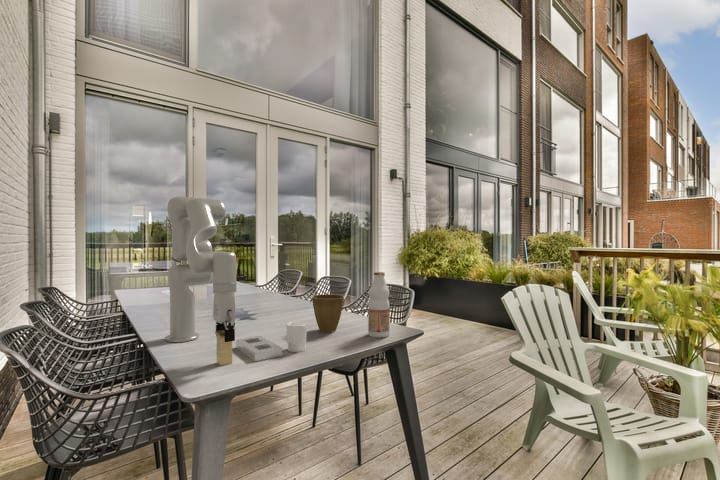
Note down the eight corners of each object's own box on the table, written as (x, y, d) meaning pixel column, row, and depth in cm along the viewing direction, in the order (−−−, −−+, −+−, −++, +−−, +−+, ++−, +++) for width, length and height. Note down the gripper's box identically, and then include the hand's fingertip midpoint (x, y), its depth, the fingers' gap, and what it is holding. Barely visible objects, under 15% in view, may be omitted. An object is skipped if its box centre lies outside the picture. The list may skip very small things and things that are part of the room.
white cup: (289, 353, 134) (289, 326, 134) (283, 348, 141) (283, 322, 141) (309, 350, 137) (309, 324, 137) (303, 345, 144) (303, 320, 144)
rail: (236, 347, 141) (236, 339, 141) (260, 343, 147) (260, 335, 147) (255, 361, 125) (255, 352, 125) (281, 356, 131) (282, 347, 131)
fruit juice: (366, 337, 157) (367, 272, 157) (370, 331, 166) (370, 271, 166) (388, 338, 155) (388, 273, 155) (390, 333, 164) (390, 271, 164)
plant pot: (343, 335, 160) (343, 299, 160) (309, 334, 160) (309, 298, 160) (344, 326, 175) (345, 293, 175) (314, 326, 175) (314, 293, 175)
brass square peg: (214, 362, 124) (215, 331, 124) (229, 359, 127) (229, 329, 127) (219, 366, 120) (219, 334, 120) (233, 363, 123) (233, 331, 123)
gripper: (206, 286, 128) (206, 335, 128) (221, 291, 114) (221, 345, 114) (228, 285, 132) (228, 332, 132) (244, 289, 119) (244, 341, 118)
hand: (225, 338), depth 123 cm, fingers open, 9 cm apart
